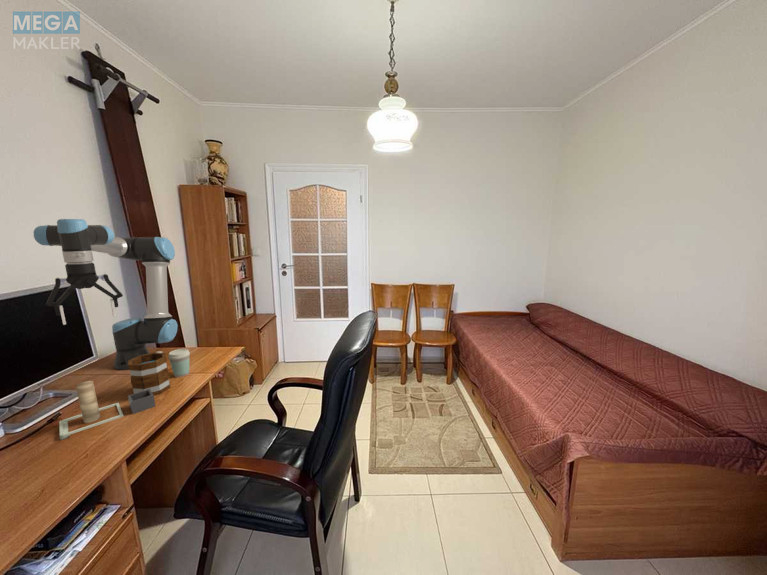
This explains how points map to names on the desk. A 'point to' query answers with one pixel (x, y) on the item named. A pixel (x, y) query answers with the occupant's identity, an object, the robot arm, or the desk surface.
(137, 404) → the pen cup
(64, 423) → the tray
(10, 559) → the desk surface
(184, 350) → the coffee cup
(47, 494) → the desk surface
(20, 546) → the desk surface
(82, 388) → the dowel
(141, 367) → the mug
